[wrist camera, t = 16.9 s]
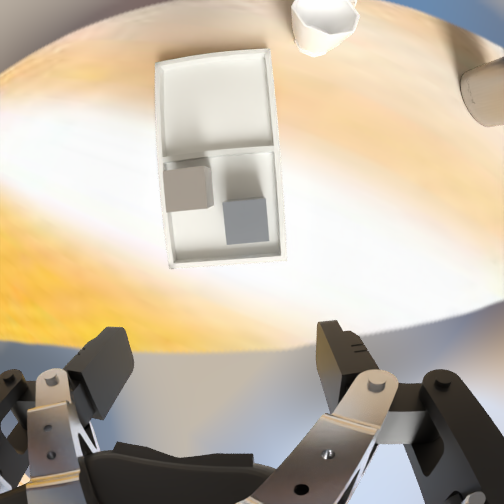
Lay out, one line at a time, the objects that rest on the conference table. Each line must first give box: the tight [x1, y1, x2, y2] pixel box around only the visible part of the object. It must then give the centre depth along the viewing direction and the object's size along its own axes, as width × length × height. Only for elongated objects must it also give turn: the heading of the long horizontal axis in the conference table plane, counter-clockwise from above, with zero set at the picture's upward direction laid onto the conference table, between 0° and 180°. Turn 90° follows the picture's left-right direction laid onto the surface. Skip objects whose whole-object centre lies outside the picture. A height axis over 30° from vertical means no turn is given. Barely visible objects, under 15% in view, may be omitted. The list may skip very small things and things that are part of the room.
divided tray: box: [155, 49, 287, 269], centre depth 29 cm, size 13×24×2 cm, turn 4°
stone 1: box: [163, 166, 214, 213], centre depth 28 cm, size 4×4×5 cm
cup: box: [291, 0, 360, 57], centre depth 23 cm, size 7×10×8 cm
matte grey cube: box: [222, 196, 269, 245], centre depth 29 cm, size 4×4×5 cm
